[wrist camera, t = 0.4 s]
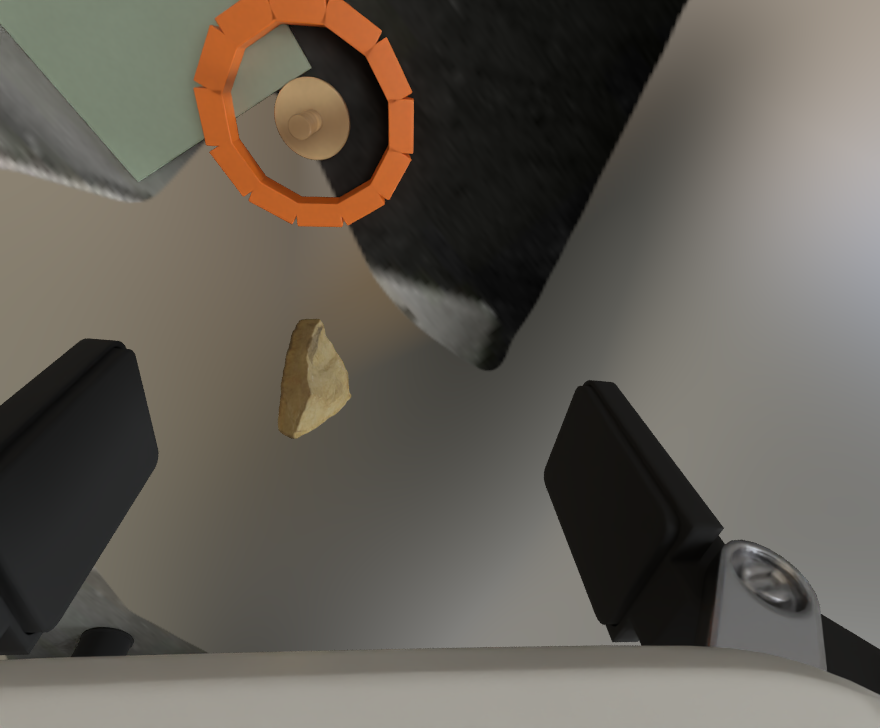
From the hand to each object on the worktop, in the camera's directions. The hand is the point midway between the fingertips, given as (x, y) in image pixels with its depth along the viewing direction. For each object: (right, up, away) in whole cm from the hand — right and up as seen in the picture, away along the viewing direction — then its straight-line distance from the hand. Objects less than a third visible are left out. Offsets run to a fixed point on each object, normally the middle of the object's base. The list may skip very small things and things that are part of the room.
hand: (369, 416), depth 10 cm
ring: (-9, +22, +27) cm, 35 cm away
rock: (-11, +2, +40) cm, 42 cm away
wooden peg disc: (-9, +22, +27) cm, 36 cm away
